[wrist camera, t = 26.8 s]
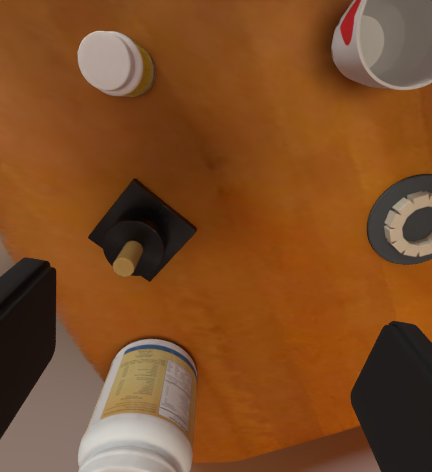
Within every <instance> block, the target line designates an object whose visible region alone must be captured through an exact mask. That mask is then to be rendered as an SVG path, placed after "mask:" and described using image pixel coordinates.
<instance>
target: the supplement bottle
mask: <svg viewBox="0 0 432 472" xmlns="http://www.w3.org/2000/svg"><path fill="white" fill-rule="evenodd" d="M78 64H79V68H80V70H81V73H82V74H83V76H84V77H85V79H86V80H87V81H88V82H89V83H90V84H91V85H93V86H94V87H96V88H98V89H99V90H100V91H102V92H104V93H106V94H108V95H111V96H128V97H136V96H140V95H143V94H145V93H146V92H147V91H148V90H149V89H150V88H151V87H152V85H153V83H154V80H155V65H154V62H153V59H152V57H151V56H150V54H149V53H148V52H147V51H146V50H145V49H144V48H143V47H142V46H140V45H139V44H137V43H136V42H134V41H133V40H131V39H130V38H129V37H127V36H125V35H124V34H121V33H118V32H114V31H107V32H106V31H95V32H92V33H90V34H88V35H87V36H86V37H85V38H84V39H83V40H82V42H81V44H80V46H79V49H78Z"/></svg>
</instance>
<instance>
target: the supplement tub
mask: <svg viewBox="0 0 432 472" xmlns="http://www.w3.org/2000/svg"><path fill="white" fill-rule="evenodd" d="M196 390H197V371H196V367H195V364H194V362H193V360H192V358H191V357H190V356H189V355H188V353H187V352H185V351H184V350H183V349H182V348H180V347H179V346H177V345H175V344H173V343H171V342H168V341H164V340H158V339H145V340H140V341H136V342H133V343H131V344H129V345H127V346H126V347H124V348H123V349H122V350H121V351H120V352H119V353H118V354H117V355H116V357H115V358H114V360H113V362H112V364H111V367H110V370H109V373H108V375H107V378H106V380H105V383H104V386H103V388H102V391H101V393H100V395H99V398H98V401H97V403H96V406H95V408H94V411H93V413H92V416H91V419H90V421H89V424H88V426H87V429H86V431H85V434H84V436H83V438H82V440H81V444H80V448H79V453H78V464H79V468H80V469H79V471H78V472H190V469H191V464H192V458H193V454H192V452H193V437H194V421H195V406H196Z"/></svg>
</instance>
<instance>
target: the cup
mask: <svg viewBox="0 0 432 472" xmlns="http://www.w3.org/2000/svg"><path fill="white" fill-rule="evenodd" d="M331 53H332V58H333V61H334V63H335V65H336V67H337V68H338V70H339V71H340V72H341V73H342V74H343V75H344V76H345V77H347V78H348V79H350V80H353V81H355V82H358V83H360V84H363V85H365V86H368V87H373V88H385V89H396V90H411V89H416V88H420V87H423V86H426V85H428V84H430V83H432V0H353V2H352V3H351V4H350V6H349V7H348V9H347V10H346V11H345V13H344V14H343V16H342V17H341V19H340V20H339V22H338V24H337V26H336V28H335V31H334V35H333V39H332V46H331Z"/></svg>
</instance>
